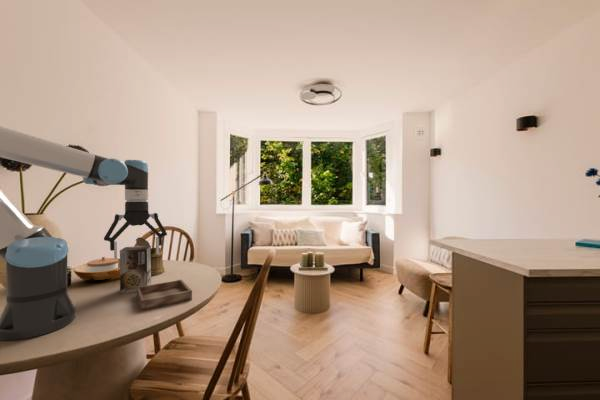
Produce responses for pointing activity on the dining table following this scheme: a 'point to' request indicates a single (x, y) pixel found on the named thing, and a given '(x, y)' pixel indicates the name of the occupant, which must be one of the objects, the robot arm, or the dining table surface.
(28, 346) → the dining table surface
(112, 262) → the lidded jar
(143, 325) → the dining table surface
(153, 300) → the walnut tray
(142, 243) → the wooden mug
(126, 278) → the coffee box
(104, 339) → the dining table surface
